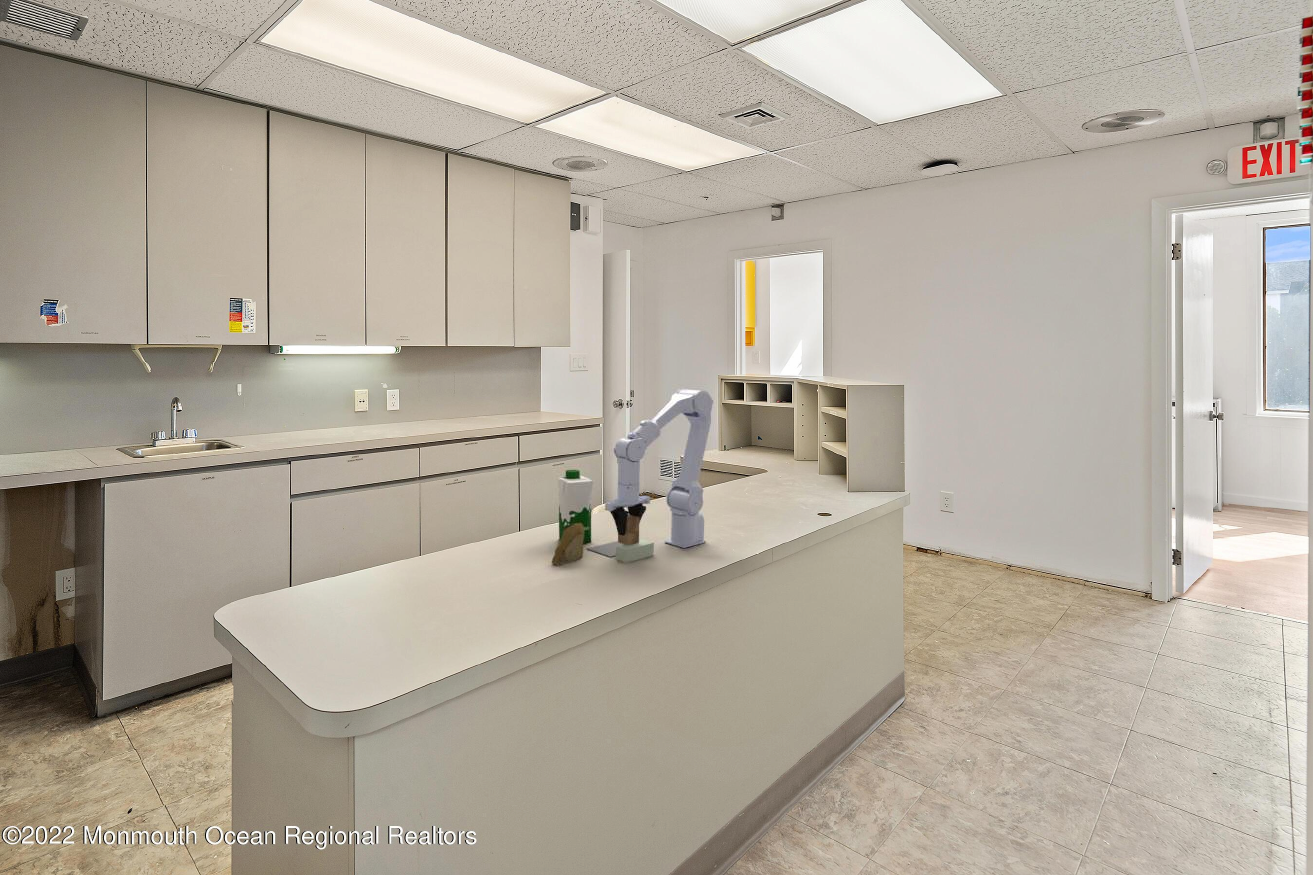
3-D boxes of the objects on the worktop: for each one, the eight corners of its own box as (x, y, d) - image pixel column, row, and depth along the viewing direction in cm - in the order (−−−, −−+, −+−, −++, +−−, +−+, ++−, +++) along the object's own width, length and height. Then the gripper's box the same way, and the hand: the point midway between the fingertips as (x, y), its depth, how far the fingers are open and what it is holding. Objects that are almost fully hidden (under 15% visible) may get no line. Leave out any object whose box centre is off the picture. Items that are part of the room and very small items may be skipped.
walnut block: (628, 539, 186) (629, 514, 186) (639, 542, 184) (639, 517, 183) (617, 542, 184) (618, 516, 183) (628, 545, 181) (628, 519, 180)
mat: (616, 542, 196) (616, 541, 196) (640, 549, 189) (640, 548, 189) (586, 549, 189) (586, 548, 189) (610, 557, 182) (610, 556, 181)
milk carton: (582, 535, 203) (583, 468, 201) (595, 542, 195) (596, 473, 193) (554, 538, 199) (555, 470, 196) (567, 546, 191) (567, 475, 188)
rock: (557, 560, 170) (593, 550, 175) (546, 529, 173) (582, 520, 178) (548, 575, 179) (583, 565, 184) (537, 545, 182) (572, 536, 187)
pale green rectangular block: (643, 552, 187) (643, 539, 187) (653, 555, 184) (653, 542, 184) (615, 559, 180) (615, 546, 180) (626, 562, 177) (626, 549, 177)
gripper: (638, 478, 190) (637, 526, 192) (597, 484, 180) (597, 534, 181) (656, 481, 185) (654, 531, 187) (615, 488, 175) (614, 540, 176)
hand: (627, 533), depth 184 cm, fingers closed on walnut block, 4 cm apart
